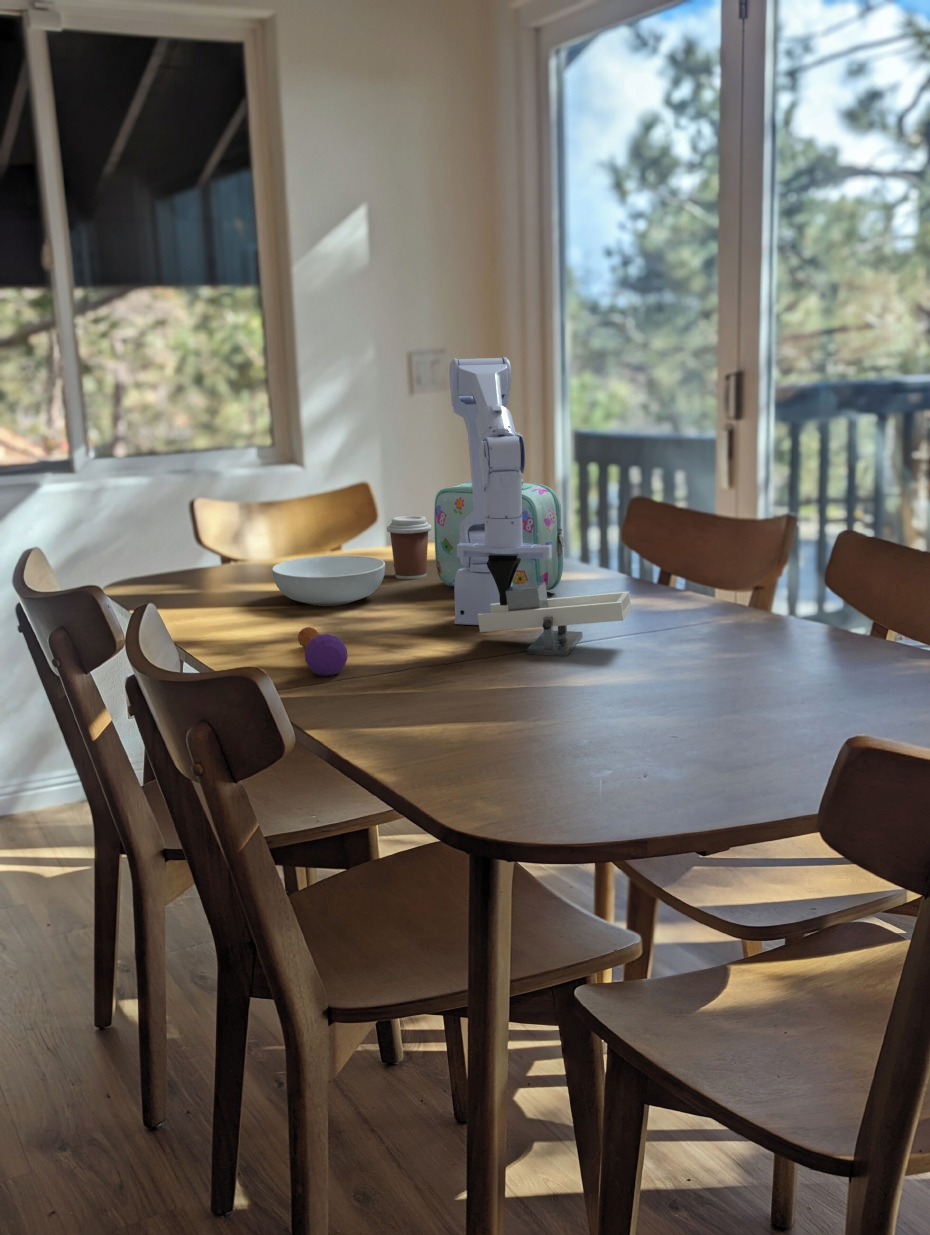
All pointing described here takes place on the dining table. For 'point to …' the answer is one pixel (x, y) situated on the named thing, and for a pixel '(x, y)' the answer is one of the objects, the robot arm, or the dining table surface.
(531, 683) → the dining table surface
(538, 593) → the block
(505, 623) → the balance beam
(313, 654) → the kendama
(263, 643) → the dining table surface
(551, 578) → the lunch box
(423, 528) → the coffee cup
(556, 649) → the beam stand
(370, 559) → the serving bowl
